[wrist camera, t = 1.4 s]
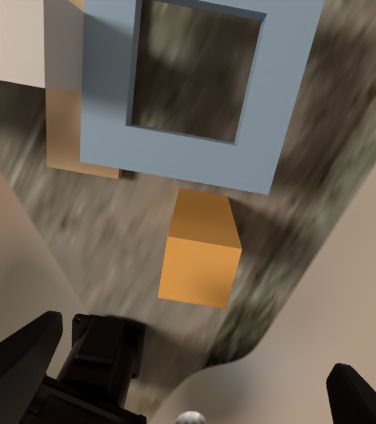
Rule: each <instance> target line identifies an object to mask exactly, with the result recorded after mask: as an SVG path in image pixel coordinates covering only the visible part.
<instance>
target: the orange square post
mask: <svg viewBox="0 0 376 424" xmlns="http://www.w3.org/2000/svg"><path fill="white" fill-rule="evenodd" d="M241 252H242V247H241V243H240V240H239V236H238V232H237V229H236V225H235V222H234V218H233V215H232V211H231V207H230V204H229V200H228V197H226V196H221V195H215V194H209V193H204V192H198V191H192V190H187V189H181V188H180V189H179V193H178V197H177V201H176V205H175V209H174V213H173V217H172V221H171V225H170V229H169V233H168V237H167V243H166V249H165V256H164V262H163V268H162V274H161V281H160V287H159V293H158V298H164V299H170V300H176V301H182V302H188V303H194V304H200V305H206V306H212V307H217V308H223V309H226V306H227V303H228V299H229V295H230V292H231V288H232V284H233V281H234V277H235V273H236V270H237V266H238V262H239V259H240V255H241Z"/></svg>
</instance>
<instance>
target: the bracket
mask: <svg viewBox="0 0 376 424" xmlns="http://www.w3.org/2000/svg"><path fill="white" fill-rule="evenodd" d="M153 1H159V2H164V3H169V4H175V5H180V6H185V7H190V8H196V9H201V10H206V11H211V12H217V13H222V14H227V15H232V16H238V17H243V18H248V19H254V20H259V21H262V22H261V27H260V31H259V36H258V40H257V45H256V49H255V53H254V58H253V62H252V67H251V71H250V76H249V80H248V84H247V89H246V93H245V98H244V102H243V107H242V111H241V115H240V120H239V124H238V129H237V133H236V138H235V142H228V141H223V140H217V139H212V138H206V137H201V136H195V135H190V134H184V133H178V132H173V131H167V130H162V129H156V128H151V127H145V126H140V125H134V124H131V119H132V108H133V97H134V86H135V75H136V64H137V53H138V42H139V31H140V20H141V9H142V0H84V12H83V11H81V10H80V9H79V8H78V7H76V6H75V5H74V4H72V3H71V2H70V1H68V0H0V80H2V81H8V82H13V83H19V84H24V85H30V86H35V87H41V88H48V89H59V90H70V91H82V100H81V136H80V162H84V163H90V164H95V165H101V166H107V167H112V168H118V169H124V170H129V171H135V172H141V173H147V174H152V175H158V176H164V177H169V178H175V179H181V180H186V181H192V182H198V183H203V184H209V185H215V186H220V187H226V188H232V189H237V190H243V191H249V192H254V193H260V194H266V195H269V191H270V188H271V184H272V181H273V177H274V174H275V170H276V167H277V163H278V160H279V157H280V153H281V150H282V146H283V143H284V139H285V136H286V132H287V129H288V125H289V122H290V119H291V115H292V112H293V108H294V105H295V101H296V98H297V94H298V91H299V87H300V84H301V81H302V77H303V74H304V70H305V67H306V63H307V60H308V56H309V53H310V49H311V46H312V43H313V39H314V36H315V32H316V29H317V25H318V22H319V18H320V15H321V11H322V8H323V4H324V1H325V0H153Z"/></svg>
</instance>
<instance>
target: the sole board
mask: <svg viewBox="0 0 376 424" xmlns="http://www.w3.org/2000/svg"><path fill="white" fill-rule="evenodd" d="M68 1H70V2H71V3H72V4H74V5H75V6H76V7H78V8H79V9H80V10H81V11H83V12H84V0H68ZM81 100H82V91H70V90H59V89H48V88H46V145H47V167H52V168H58V169H63V170H69V171H75V172H80V173H86V174H92V175H98V176H103V177H109V178H115V179H119V178H120V177H121V176H122V169H118V168H112V167H107V166H101V165H95V164H90V163H84V162H80V136H81Z"/></svg>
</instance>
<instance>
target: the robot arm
mask: <svg viewBox="0 0 376 424" xmlns="http://www.w3.org/2000/svg"><path fill="white" fill-rule="evenodd" d="M78 319H79V320H78ZM138 329H140V330H138ZM145 330H146V328H145V326H144V325H143V324H139V323H133V322H127V321H120V320H114V319H108V318H102V317H96V316H90V315H84V314H76V315H75V316H74V318H73V320H72V350H71V351H70V353H69V356H68V357H67V359H66V361H65V363H64V365H63V367H62V369H61V371H60V372H59V375H58V376H57V378H56V379H54V378H51V377H49V376H47V374H46V371H47V368H48V366H49V364H50V362H51V359H52V357H53V355H54V352H55V350H56V348H57V346H58V343H59V341H60V339H61V336H62V333H63V324H62V314H61V313H60V312H56V311H47V312H45V313H44V314H42V315H41V316H39V317H38V318H36V319H35V320H33V321H32V322H30V323H29V324H27V325H26V326H24V327H23V328H21V329H20V330H18V331H17V332H15V333H13V334H12V335H10V336H9V337H7V338H6V339H4V340H3V341H2V342H0V424H146V417H145V416H143V415H141V414H140V415H137V414H135V413H132V412H130V411H128V410H125V409H124V405H125V401H126V397H127V393H128V389H129V385H130V381H131V378H132V379H135V378H137V377H138V375H139V371H140V364H141V357H142V350H143V343H144V337H145ZM326 386H327V392H328V397H329V403H330V408H331V413H332V418H333V424H376V392H375V391H374V389H372V387H371V386H370V385H369V384H368V383H367V382H366V381H365V380H364V379H363V378H362V377H361V376H360V375H359V374H358V373H357V372H356V370H354V368H352V367H351V366H350V365H346V364H341V363H337V364H335V366H334V367H333V369H332V371H331V372H330V374H329V376H328V378H327V381H326Z"/></svg>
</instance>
